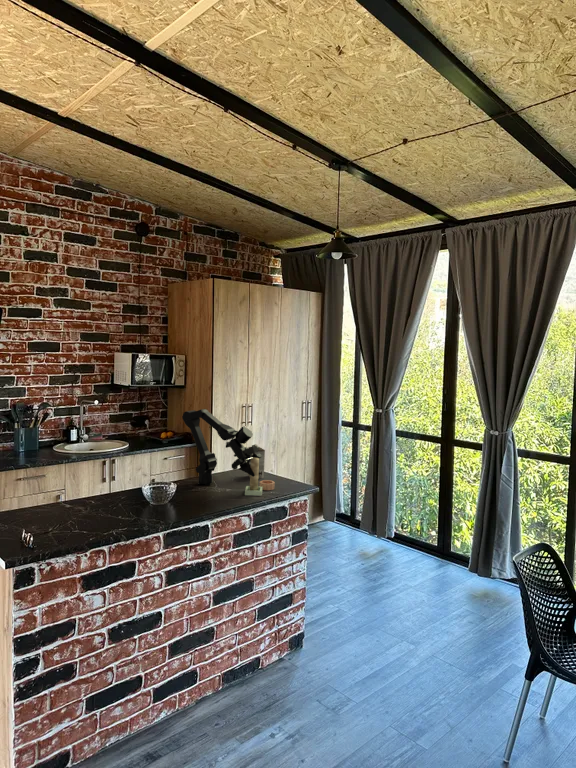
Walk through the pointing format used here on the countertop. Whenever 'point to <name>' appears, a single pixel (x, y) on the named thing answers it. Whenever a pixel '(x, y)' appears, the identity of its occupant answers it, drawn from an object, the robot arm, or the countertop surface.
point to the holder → (267, 484)
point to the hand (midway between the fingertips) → (256, 475)
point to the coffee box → (260, 462)
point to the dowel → (256, 471)
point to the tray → (253, 491)
